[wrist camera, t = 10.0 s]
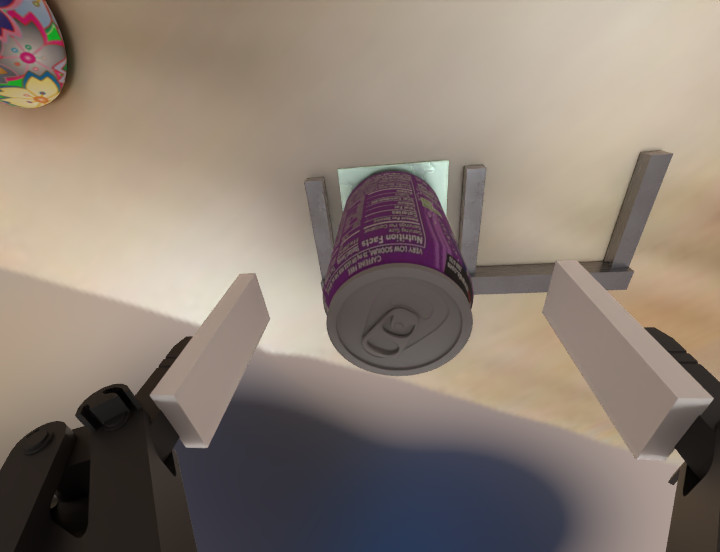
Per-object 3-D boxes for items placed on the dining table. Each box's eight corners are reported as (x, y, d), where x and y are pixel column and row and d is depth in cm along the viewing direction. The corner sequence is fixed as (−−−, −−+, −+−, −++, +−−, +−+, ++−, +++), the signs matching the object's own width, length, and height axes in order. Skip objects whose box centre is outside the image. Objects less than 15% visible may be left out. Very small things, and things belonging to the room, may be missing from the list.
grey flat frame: (306, 171, 23) (300, 176, 21) (664, 142, 20) (684, 146, 19) (327, 288, 28) (323, 299, 26) (613, 278, 25) (626, 289, 24)
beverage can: (405, 272, 26) (420, 400, 16) (328, 232, 24) (290, 347, 14) (460, 199, 22) (523, 307, 12) (373, 148, 21) (365, 223, 11)
